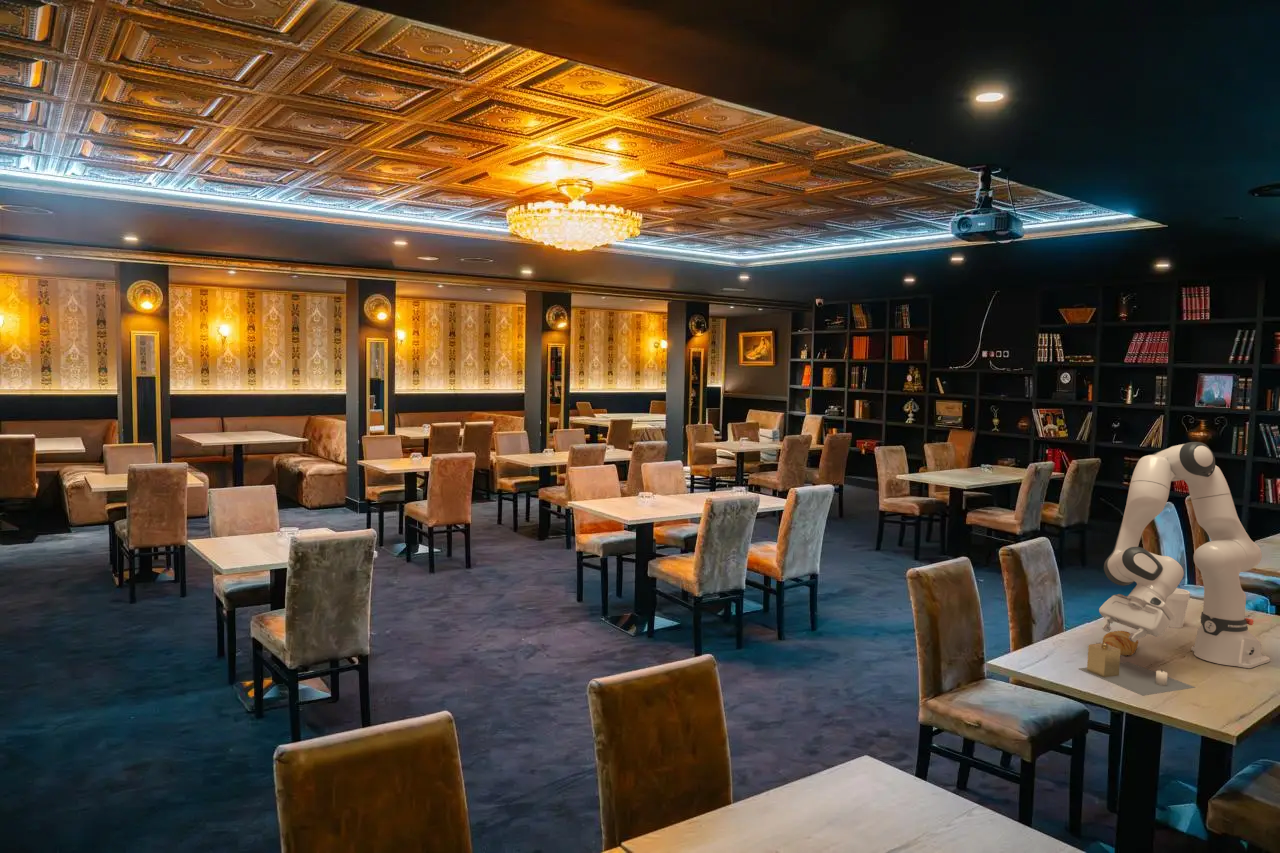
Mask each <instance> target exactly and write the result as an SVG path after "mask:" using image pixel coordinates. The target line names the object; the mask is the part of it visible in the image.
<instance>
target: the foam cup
mask: <svg viewBox="0 0 1280 853" xmlns="http://www.w3.org/2000/svg"><path fill="white" fill-rule="evenodd" d="M1190 597H1191V591H1189V590H1186V589H1183V588H1178V587H1177V588H1176V589H1175V591H1174V592H1173V593H1172V594H1171V595H1170V596H1168V597H1167V599H1166V602H1165V604H1166V605H1167V606H1168V607H1169V609H1170V610H1171V611H1172V613H1173V615H1174V618H1173V619H1172V620H1169V621H1170V623H1169V625H1168V627H1167V628H1173V629H1182V628H1183V626H1184V622H1185V618H1186V613H1187V609H1188V604H1189V600H1190Z"/></svg>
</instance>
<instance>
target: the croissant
mask: <svg viewBox="0 0 1280 853" xmlns="http://www.w3.org/2000/svg"><path fill="white" fill-rule="evenodd" d="M1130 635H1131V633H1130V632H1129V631H1125V630H1114V631H1109V632H1107V633H1106V634H1105V635H1104V636H1103V637H1102V643H1107V644H1108V645H1110V646H1113V647H1116V648H1119V649H1121V651H1120V656H1122V657H1128V656H1132V655H1133V654H1135V653H1136V651H1137V648H1138V644H1139V639H1138V640H1137V641H1136V642H1133V641H1130V639H1129V636H1130ZM1127 655H1128V656H1127Z"/></svg>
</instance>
